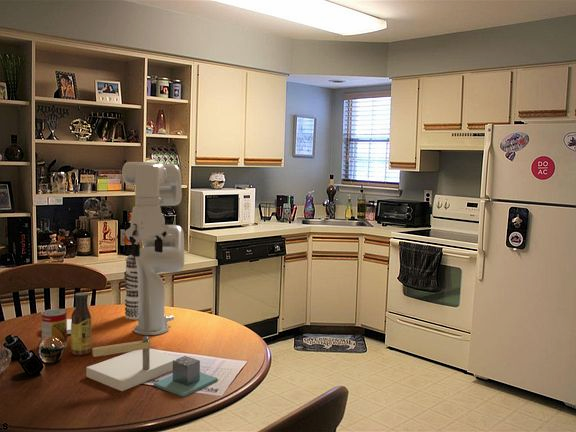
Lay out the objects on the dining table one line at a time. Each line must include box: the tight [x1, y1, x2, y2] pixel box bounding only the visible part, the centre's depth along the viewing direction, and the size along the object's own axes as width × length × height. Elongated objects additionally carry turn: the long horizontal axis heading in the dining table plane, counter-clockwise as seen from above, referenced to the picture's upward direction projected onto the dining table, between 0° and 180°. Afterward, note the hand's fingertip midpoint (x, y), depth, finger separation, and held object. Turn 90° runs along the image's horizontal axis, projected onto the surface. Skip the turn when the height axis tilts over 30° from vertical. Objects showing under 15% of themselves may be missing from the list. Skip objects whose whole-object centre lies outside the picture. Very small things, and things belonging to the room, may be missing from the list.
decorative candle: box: [123, 254, 138, 320], centre depth 226 cm, size 9×9×25 cm
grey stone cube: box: [172, 355, 201, 386], centre depth 164 cm, size 5×6×6 cm
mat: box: [153, 371, 219, 398], centre depth 164 cm, size 14×12×1 cm
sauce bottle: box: [70, 292, 92, 356], centre depth 185 cm, size 6×6×20 cm
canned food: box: [40, 308, 68, 349], centre depth 190 cm, size 8×8×12 cm
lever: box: [91, 335, 151, 358], centre depth 162 cm, size 2×16×3 cm, turn 120°
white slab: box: [86, 347, 179, 392], centre depth 171 cm, size 22×16×10 cm
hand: (147, 254), depth 184 cm, fingers open, 9 cm apart
